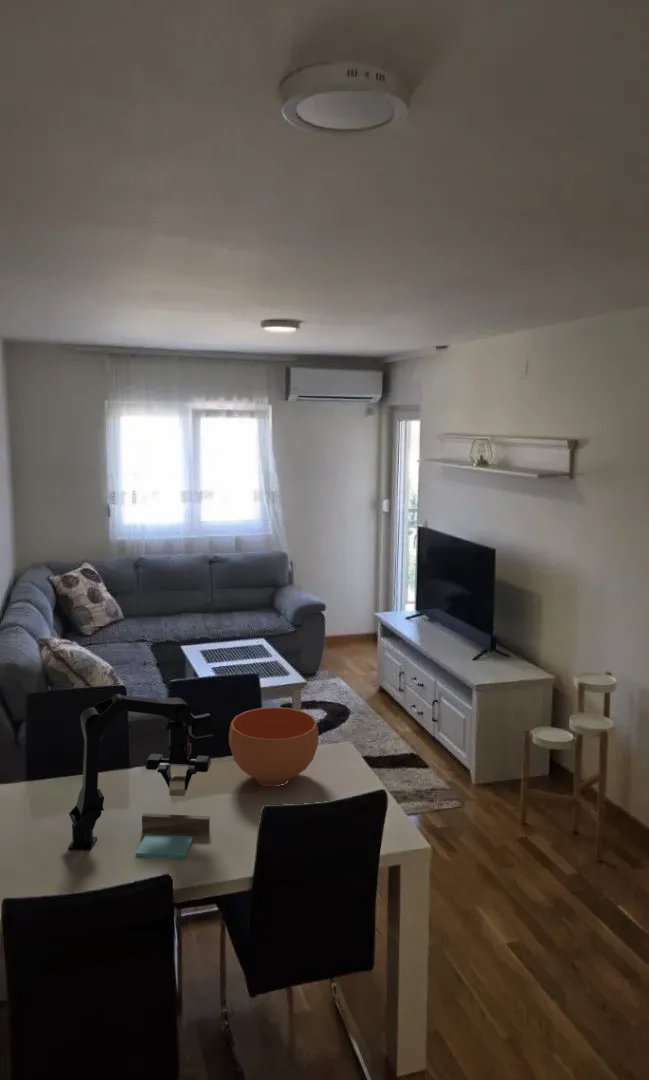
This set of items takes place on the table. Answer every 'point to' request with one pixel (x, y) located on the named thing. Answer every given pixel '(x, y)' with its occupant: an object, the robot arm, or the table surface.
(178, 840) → the display plate
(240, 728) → the bowl
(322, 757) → the table surface
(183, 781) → the maple cube
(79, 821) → the robot arm
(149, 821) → the brown wooden plank
